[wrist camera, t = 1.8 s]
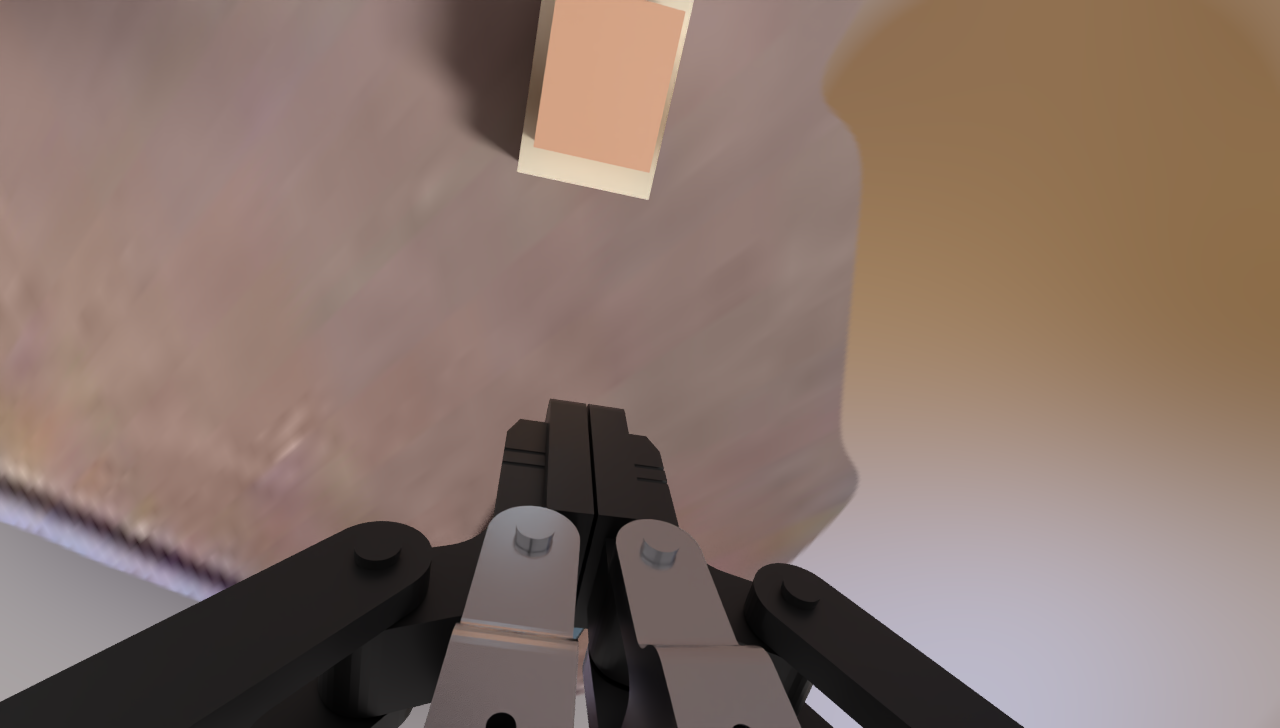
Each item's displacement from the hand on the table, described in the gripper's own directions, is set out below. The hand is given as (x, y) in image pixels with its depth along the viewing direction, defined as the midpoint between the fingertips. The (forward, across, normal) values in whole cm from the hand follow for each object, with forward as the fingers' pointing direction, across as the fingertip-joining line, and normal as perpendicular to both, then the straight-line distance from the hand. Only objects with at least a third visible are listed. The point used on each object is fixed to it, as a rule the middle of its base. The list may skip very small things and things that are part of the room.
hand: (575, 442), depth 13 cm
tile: (+13, 0, -7) cm, 15 cm away
